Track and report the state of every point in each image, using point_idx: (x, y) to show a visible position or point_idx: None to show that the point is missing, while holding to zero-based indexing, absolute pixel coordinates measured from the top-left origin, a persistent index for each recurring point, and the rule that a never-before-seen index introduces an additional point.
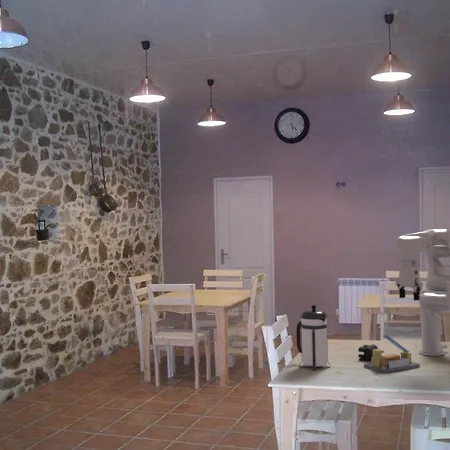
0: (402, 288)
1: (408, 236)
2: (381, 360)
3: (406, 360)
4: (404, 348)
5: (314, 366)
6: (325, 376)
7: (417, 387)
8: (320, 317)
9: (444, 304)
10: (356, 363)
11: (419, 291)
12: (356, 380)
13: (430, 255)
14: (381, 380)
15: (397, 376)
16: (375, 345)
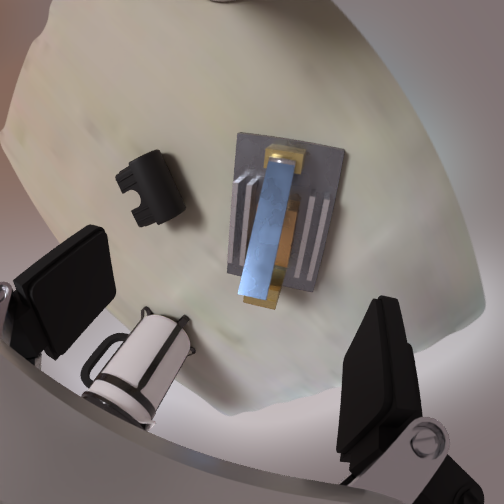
0: (24, 337)
1: None
2: (282, 282)
3: (327, 210)
4: (290, 187)
5: (189, 355)
6: (241, 369)
7: (436, 329)
8: None
9: None
10: (186, 248)
11: (430, 437)
12: (306, 362)
13: None
14: (347, 336)
15: (358, 288)
16: (138, 160)
